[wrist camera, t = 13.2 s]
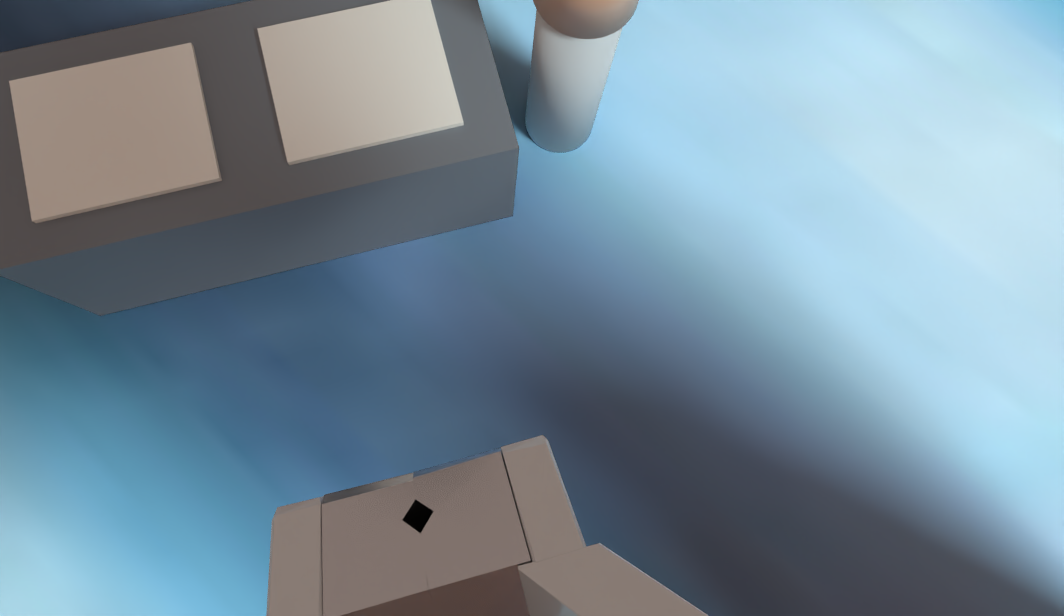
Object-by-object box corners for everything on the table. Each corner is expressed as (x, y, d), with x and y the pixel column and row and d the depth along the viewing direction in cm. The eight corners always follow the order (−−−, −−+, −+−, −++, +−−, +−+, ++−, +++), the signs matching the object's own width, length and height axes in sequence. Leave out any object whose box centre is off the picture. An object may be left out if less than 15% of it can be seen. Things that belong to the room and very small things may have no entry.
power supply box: (566, 31, 29) (592, -118, 22) (614, 190, 28) (659, 91, 21) (69, 140, 28) (-85, 18, 20) (100, 315, 26) (-51, 255, 19)
